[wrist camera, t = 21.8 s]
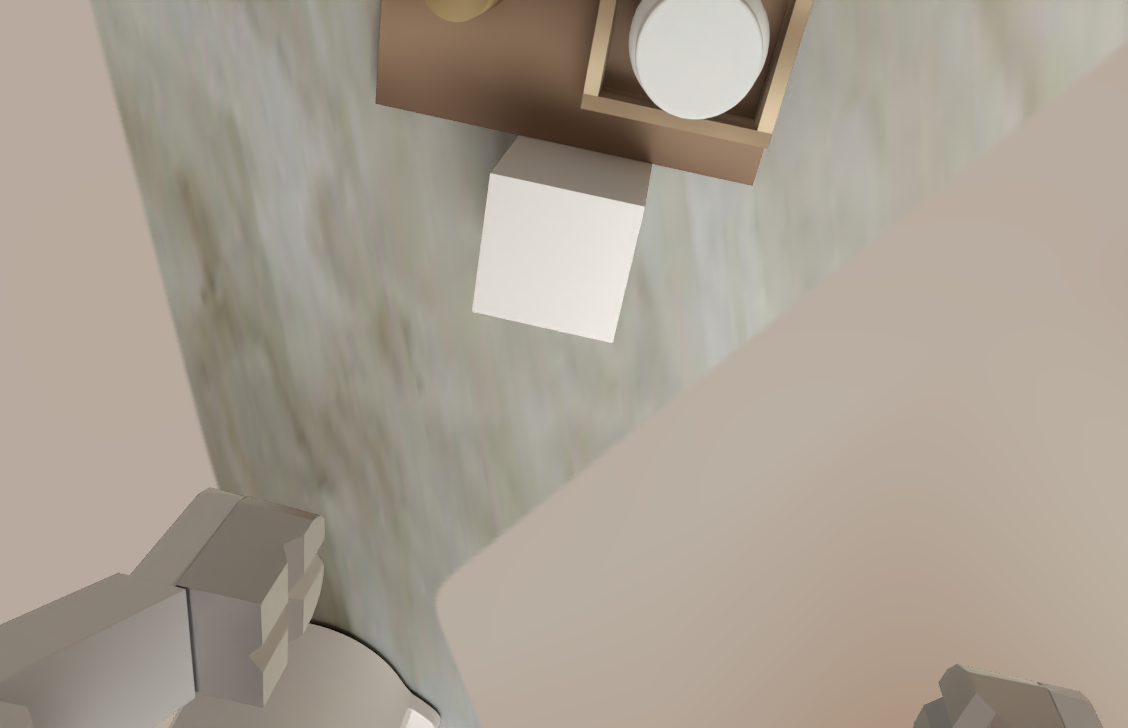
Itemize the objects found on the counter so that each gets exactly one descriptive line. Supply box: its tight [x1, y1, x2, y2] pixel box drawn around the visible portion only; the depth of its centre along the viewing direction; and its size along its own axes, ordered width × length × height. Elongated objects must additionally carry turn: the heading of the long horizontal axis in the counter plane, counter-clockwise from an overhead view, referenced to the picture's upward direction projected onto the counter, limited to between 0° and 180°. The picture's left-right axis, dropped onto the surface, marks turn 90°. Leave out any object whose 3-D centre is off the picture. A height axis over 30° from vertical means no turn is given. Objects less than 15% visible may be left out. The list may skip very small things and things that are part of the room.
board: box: [376, 0, 813, 186], centre depth 31 cm, size 12×17×5 cm
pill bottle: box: [629, 0, 770, 119], centre depth 29 cm, size 5×5×8 cm
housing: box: [472, 135, 652, 343], centre depth 35 cm, size 6×6×7 cm
